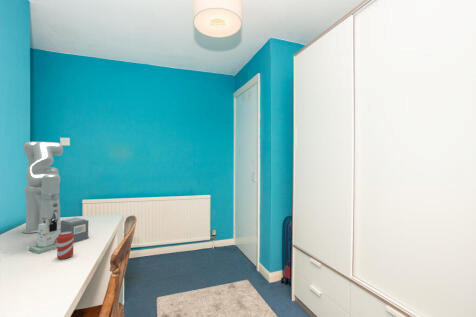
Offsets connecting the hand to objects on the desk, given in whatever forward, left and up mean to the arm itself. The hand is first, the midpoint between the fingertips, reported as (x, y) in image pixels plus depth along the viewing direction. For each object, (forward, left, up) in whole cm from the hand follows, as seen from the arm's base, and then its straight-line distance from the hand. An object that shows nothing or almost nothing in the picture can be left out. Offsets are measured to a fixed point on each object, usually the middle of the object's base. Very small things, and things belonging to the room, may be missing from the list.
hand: (49, 229), depth 123 cm
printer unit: (-2, +13, -10) cm, 16 cm away
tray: (0, 0, -10) cm, 10 cm away
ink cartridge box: (0, 0, -8) cm, 8 cm away
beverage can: (+21, -3, -10) cm, 23 cm away
